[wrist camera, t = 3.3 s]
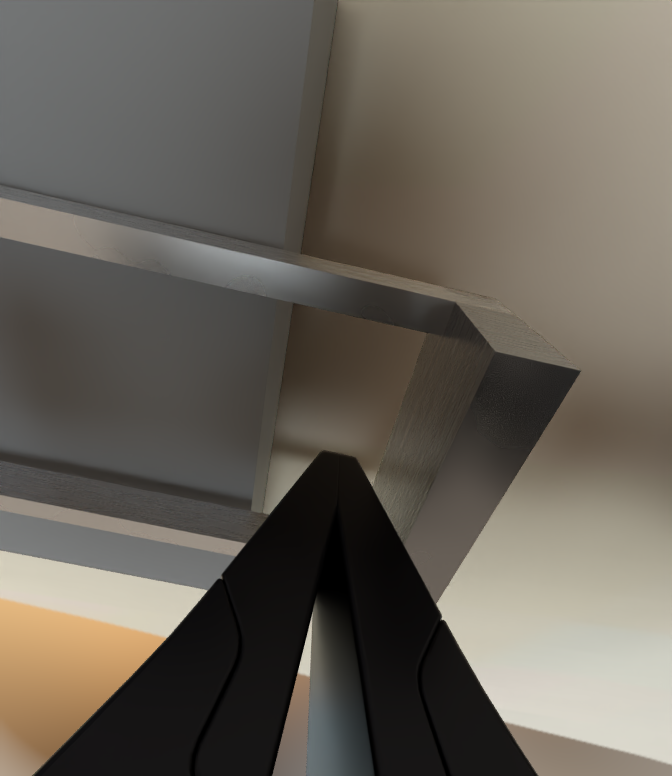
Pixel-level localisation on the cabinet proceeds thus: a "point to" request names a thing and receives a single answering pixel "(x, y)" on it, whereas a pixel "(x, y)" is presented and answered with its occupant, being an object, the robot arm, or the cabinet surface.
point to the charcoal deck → (143, 287)
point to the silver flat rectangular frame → (346, 296)
